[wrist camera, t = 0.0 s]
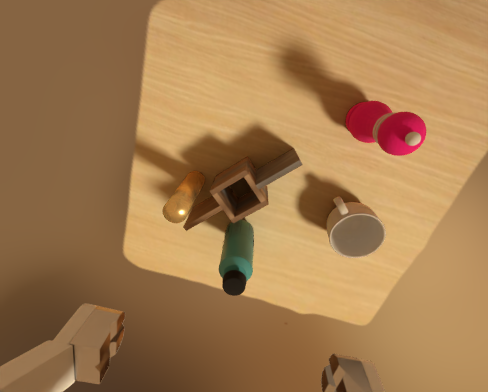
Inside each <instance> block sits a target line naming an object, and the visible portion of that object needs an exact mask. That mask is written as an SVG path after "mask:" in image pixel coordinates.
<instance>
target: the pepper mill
mask: <svg viewBox="0 0 488 392" xmlns="http://www.w3.org/2000/svg"><path fill="white" fill-rule="evenodd" d="M346 126H347V129H348V130H349V131H350V132H351V134H352V135H353V137H354V138H356V139H357V140H359V141H362V142H366V143H372V142H377V143H378V144H379V145H380V147H381V148H382V149H383V150H384V151H385V152H387V153H389V154H392V155H398V156H400V155H407V154H410V153H412V152H414V151H415V150H417V149H418V148H419V147H420V146H421V144H422V143H423V141H424V139H425V136H426V126H425V123H424V121H423V120H422V119H421V118H420V117H419V116H417V115H416V114H414V113H411V112H398V113H392V111H391V109H390V108H389V107H388V106H387V105H386V104H384V103H381V102H379V101H368V102H361V103H358V104H356V105H355V106H353V107H352V108H351V109H350V110H349V112H348V114H347V116H346Z"/></svg>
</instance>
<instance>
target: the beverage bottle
mask: <svg viewBox="0 0 488 392" xmlns="http://www.w3.org/2000/svg"><path fill="white" fill-rule="evenodd" d="M253 232H254V231H253V228H252V226H251V225H250V223H248V222H247V221H245V220H239V221H237V222H235V223H232V222H231V223H230V224H229V225H228V227H227V230H226V232H225V234H226V235H225V240H224V241H223V242H224V245H223V248H222V249H223V250H222V256H221V261H220V265H219V273H220V275H221V277H222V278H223V289H224V291H225V292H226V293H227V294H229V295H240V294H241V293H243V291H244V290H245V286H246V281H247V280H248V279H249V278H250V277H251V275H252V272H253V268H252V264H253V255H254V254H253V246H254V239H253V237H254V236H253Z"/></svg>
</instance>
